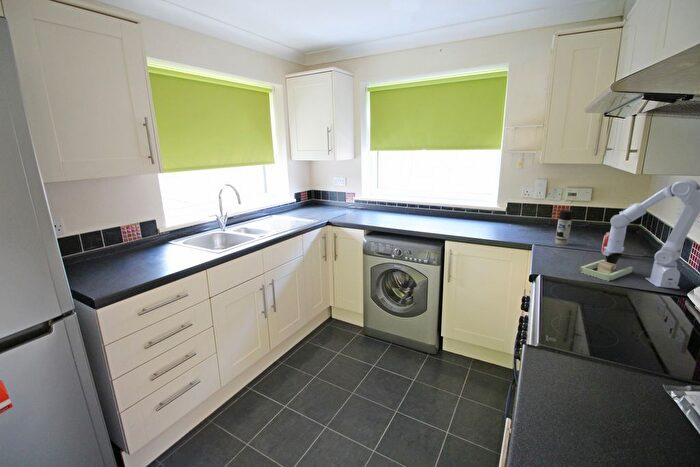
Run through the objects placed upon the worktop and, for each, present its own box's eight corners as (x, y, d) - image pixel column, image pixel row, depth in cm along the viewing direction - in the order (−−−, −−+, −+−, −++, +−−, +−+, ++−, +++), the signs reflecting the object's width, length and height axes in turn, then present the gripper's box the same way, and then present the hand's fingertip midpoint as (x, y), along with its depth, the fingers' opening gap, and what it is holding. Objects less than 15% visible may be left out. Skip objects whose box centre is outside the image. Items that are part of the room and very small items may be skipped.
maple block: (602, 269, 163) (604, 261, 162) (614, 272, 159) (616, 264, 158) (597, 271, 161) (598, 263, 160) (609, 274, 157) (610, 266, 156)
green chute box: (602, 264, 170) (603, 259, 169) (631, 272, 160) (632, 267, 159) (578, 272, 160) (579, 267, 159) (608, 281, 150) (609, 275, 149)
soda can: (609, 257, 180) (613, 235, 177) (597, 253, 187) (601, 232, 184) (620, 256, 181) (624, 234, 178) (608, 252, 188) (612, 231, 185)
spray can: (552, 243, 205) (557, 210, 200) (557, 241, 209) (562, 209, 204) (564, 246, 200) (570, 212, 195) (569, 243, 204) (575, 211, 199)
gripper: (614, 235, 165) (608, 262, 168) (598, 240, 158) (593, 267, 162) (631, 239, 159) (625, 266, 163) (615, 243, 152) (609, 272, 156)
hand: (610, 267), depth 162 cm, fingers closed
